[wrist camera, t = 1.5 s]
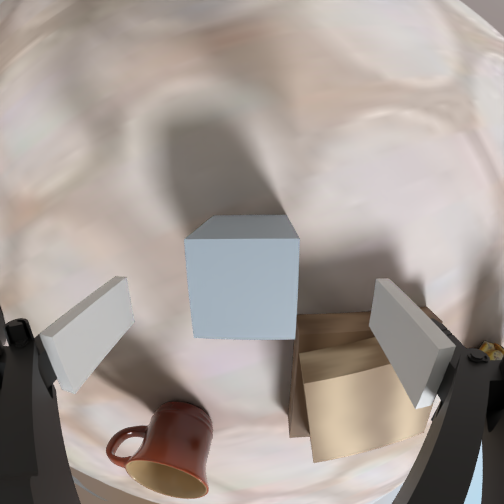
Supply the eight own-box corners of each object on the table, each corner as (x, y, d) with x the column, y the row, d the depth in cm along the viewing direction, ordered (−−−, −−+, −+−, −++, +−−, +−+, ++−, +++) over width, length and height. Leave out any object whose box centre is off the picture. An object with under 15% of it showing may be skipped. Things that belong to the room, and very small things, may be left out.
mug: (219, 397, 29) (205, 470, 19) (221, 440, 31) (211, 503, 21) (122, 381, 29) (86, 440, 19) (136, 425, 31) (111, 480, 21)
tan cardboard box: (287, 413, 30) (289, 437, 26) (294, 312, 26) (299, 334, 22) (395, 401, 29) (405, 421, 25) (424, 304, 25) (442, 321, 21)
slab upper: (309, 435, 26) (313, 463, 22) (298, 353, 23) (303, 383, 19) (411, 408, 24) (423, 432, 21) (425, 322, 21) (446, 344, 18)
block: (217, 283, 25) (194, 337, 16) (213, 215, 23) (184, 239, 15) (285, 283, 25) (295, 339, 16) (286, 214, 23) (299, 238, 14)
